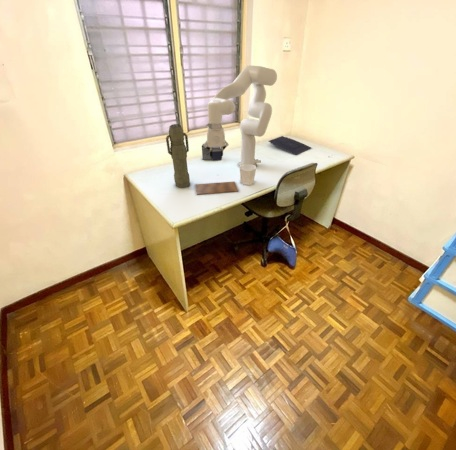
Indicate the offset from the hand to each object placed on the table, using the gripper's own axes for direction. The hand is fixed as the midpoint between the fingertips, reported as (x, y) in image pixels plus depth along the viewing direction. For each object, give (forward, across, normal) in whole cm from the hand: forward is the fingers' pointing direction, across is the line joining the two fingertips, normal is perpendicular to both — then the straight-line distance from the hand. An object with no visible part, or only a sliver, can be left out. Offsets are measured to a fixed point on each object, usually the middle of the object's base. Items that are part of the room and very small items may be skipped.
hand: (216, 156), depth 150 cm
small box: (+15, -1, +37) cm, 40 cm away
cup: (+15, +18, -6) cm, 25 cm away
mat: (+15, -2, -11) cm, 19 cm away
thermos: (+15, -22, -3) cm, 27 cm away
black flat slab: (+15, +67, +52) cm, 86 cm away
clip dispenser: (+1, 0, 0) cm, 1 cm away
